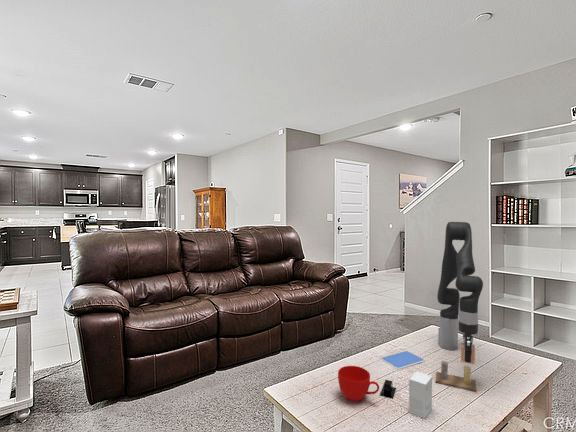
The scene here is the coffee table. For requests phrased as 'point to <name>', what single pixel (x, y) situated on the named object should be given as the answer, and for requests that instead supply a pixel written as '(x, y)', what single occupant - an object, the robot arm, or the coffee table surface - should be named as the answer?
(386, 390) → the black knobbed base
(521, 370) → the coffee table surface
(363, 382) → the ceramic cup
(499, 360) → the coffee table surface
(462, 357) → the salmon pink cube
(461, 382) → the board
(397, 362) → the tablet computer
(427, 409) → the small box
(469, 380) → the brass post
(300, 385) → the coffee table surface
